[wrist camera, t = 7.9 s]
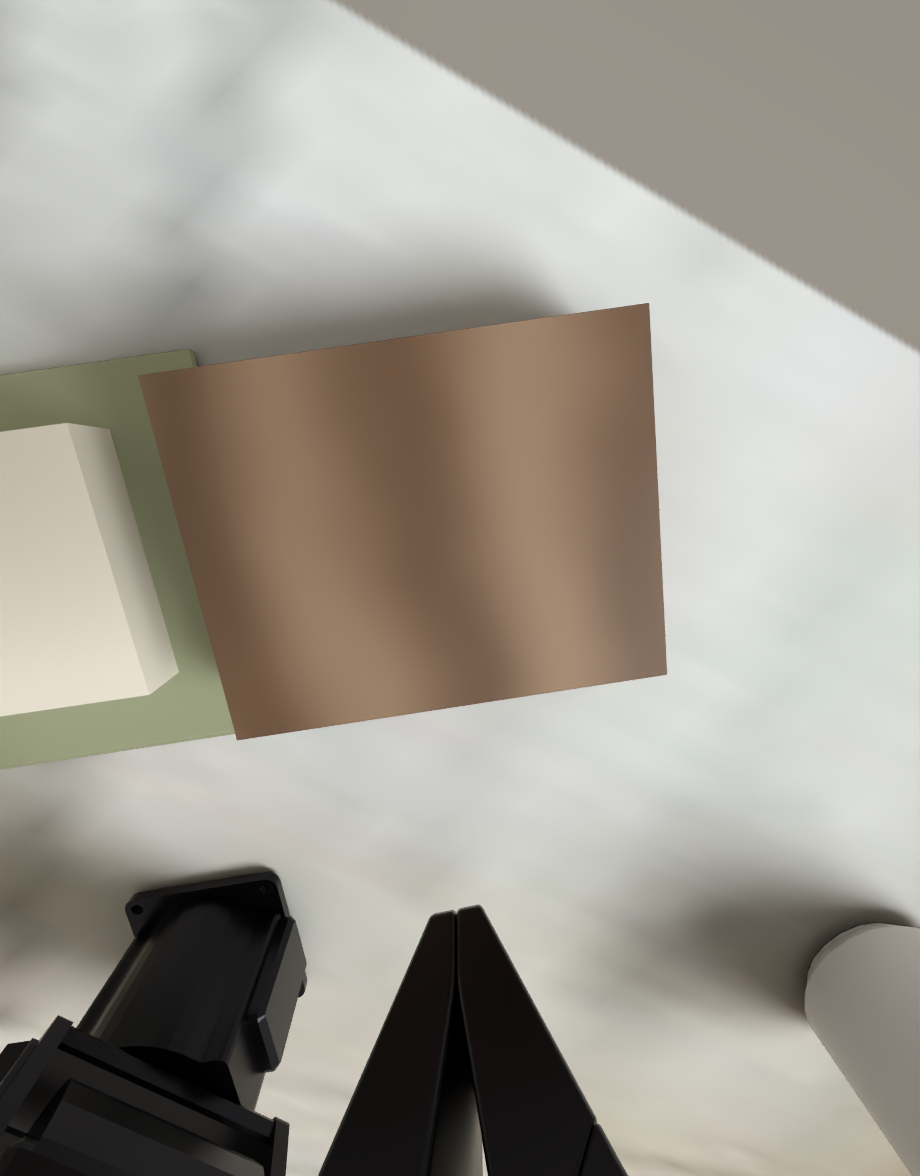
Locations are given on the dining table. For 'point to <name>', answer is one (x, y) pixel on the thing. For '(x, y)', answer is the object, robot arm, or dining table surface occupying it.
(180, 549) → the mat
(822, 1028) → the can
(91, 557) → the cream chamfered block
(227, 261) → the dining table surface
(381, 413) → the brown flat block
